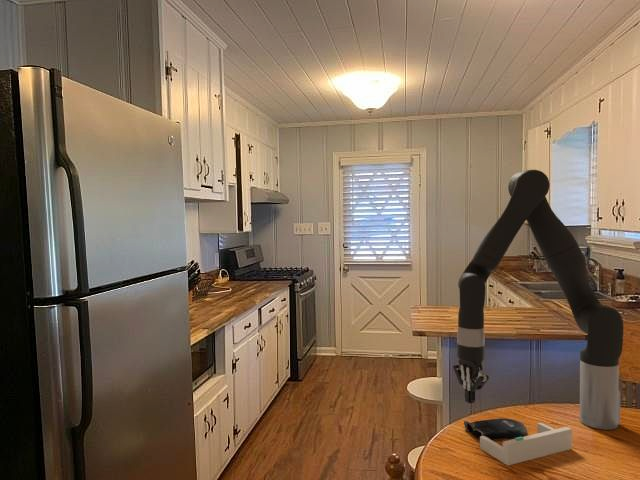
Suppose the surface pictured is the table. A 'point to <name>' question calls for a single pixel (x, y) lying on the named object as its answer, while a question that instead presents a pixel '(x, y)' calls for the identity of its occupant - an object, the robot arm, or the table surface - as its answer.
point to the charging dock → (529, 445)
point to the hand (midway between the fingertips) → (469, 402)
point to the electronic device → (497, 428)
